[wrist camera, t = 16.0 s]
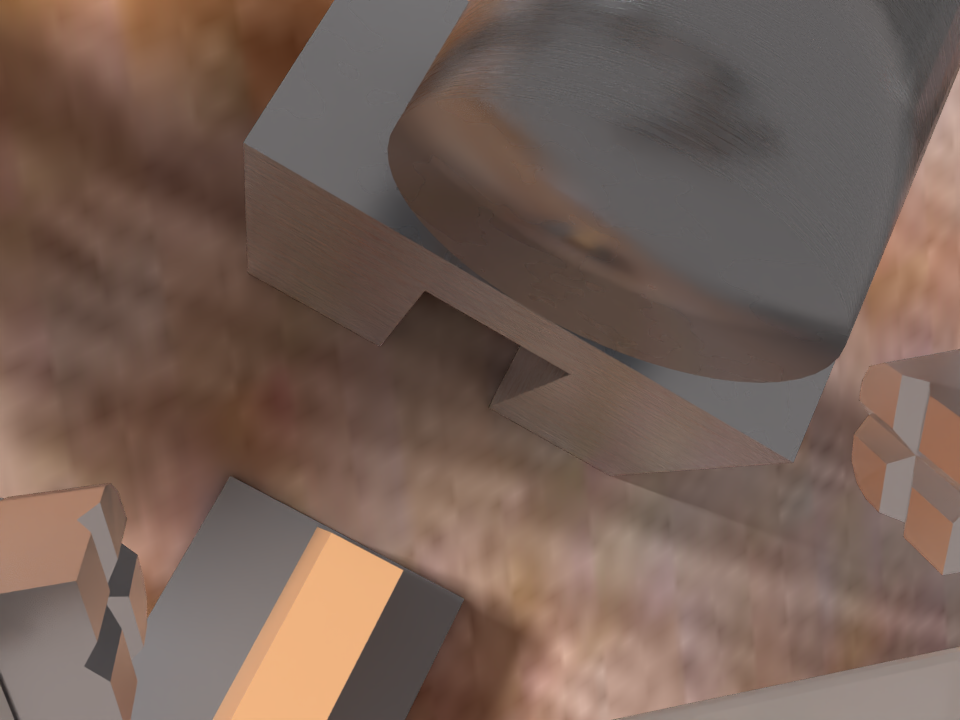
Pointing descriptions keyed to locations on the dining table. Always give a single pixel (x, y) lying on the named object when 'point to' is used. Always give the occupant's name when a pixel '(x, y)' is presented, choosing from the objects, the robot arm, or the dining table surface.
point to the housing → (608, 198)
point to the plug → (312, 634)
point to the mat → (248, 603)
